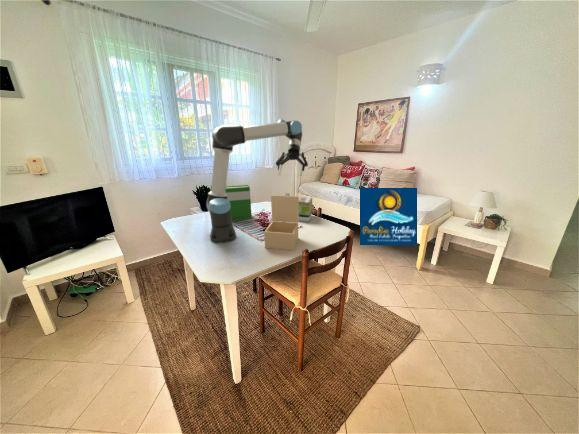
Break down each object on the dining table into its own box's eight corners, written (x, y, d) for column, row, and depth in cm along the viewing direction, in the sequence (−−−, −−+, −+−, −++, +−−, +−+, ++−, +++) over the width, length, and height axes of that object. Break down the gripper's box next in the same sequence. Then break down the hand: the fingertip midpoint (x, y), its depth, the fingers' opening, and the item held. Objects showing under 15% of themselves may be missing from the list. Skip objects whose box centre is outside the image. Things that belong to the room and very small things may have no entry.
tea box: (309, 222, 161) (310, 202, 156) (295, 221, 163) (295, 201, 158) (311, 215, 175) (312, 196, 170) (299, 214, 177) (299, 196, 172)
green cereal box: (250, 215, 175) (248, 184, 167) (251, 218, 169) (249, 186, 161) (226, 217, 170) (223, 186, 162) (227, 221, 164) (224, 188, 156)
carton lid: (270, 195, 130) (274, 191, 138) (272, 221, 136) (275, 215, 144) (298, 196, 127) (300, 192, 135) (298, 222, 133) (300, 217, 141)
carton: (264, 247, 124) (264, 231, 121) (272, 235, 139) (272, 221, 136) (293, 250, 121) (293, 234, 118) (298, 237, 136) (298, 223, 133)
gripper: (313, 151, 148) (310, 178, 140) (277, 151, 153) (271, 177, 144) (313, 143, 142) (309, 171, 133) (274, 143, 146) (269, 170, 138)
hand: (290, 174), depth 139 cm, fingers open, 13 cm apart
